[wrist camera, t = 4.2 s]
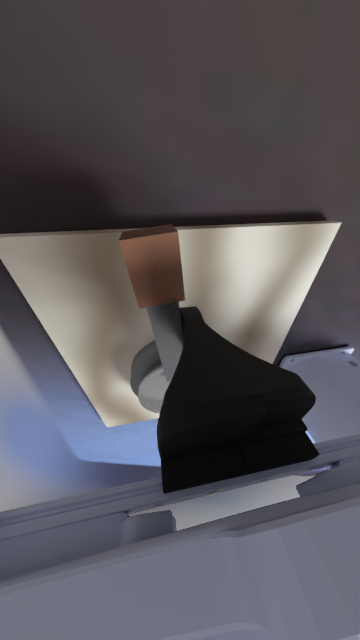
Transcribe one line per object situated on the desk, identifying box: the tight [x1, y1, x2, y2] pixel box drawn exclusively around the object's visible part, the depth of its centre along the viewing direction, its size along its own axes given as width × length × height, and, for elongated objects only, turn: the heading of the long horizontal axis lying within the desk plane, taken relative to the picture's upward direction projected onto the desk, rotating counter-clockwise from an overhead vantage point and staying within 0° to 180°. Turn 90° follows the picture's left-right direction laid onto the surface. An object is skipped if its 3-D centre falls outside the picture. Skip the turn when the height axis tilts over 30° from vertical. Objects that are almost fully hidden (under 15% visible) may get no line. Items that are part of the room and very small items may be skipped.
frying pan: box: [119, 224, 185, 414], centre depth 12 cm, size 7×16×2 cm, turn 6°
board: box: [0, 221, 341, 427], centre depth 16 cm, size 20×22×2 cm
